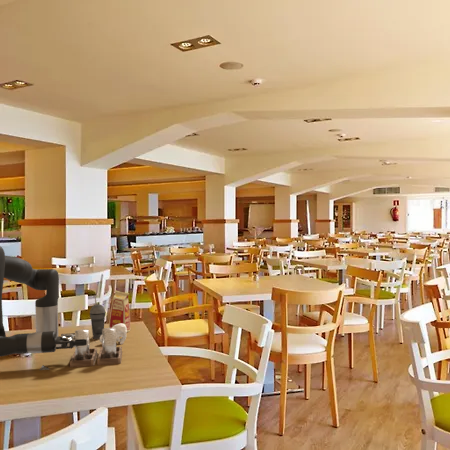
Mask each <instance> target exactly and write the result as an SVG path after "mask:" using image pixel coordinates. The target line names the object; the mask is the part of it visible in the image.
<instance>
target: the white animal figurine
mask: <svg viewBox="0 0 450 450" xmlns="http://www.w3.org/2000/svg"><path fill="white" fill-rule="evenodd" d="M112 328H116V342H119V345H123V344H124V343H125V342H126V339H127V334H128V332H127V327H126V326H125V324H123V323H120V324H116V325H115V326H114V327H112ZM120 337H121V338H120ZM99 342H100V343H101V344H102V335H101V336H100V339H99Z"/></svg>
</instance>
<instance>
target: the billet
mask: <svg viewBox="0 0 450 450" xmlns="http://www.w3.org/2000/svg"><path fill="white" fill-rule="evenodd" d="M101 344H102V347H101V348H102V351H103V359H104V358H116V347H117V341H116V328H109V327H104V329H102V343H101Z"/></svg>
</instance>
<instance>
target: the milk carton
mask: <svg viewBox="0 0 450 450" xmlns="http://www.w3.org/2000/svg"><path fill="white" fill-rule="evenodd" d="M114 291H115V293H114V295H113V298H112V304H111V307H110V314H109V315H110V316H109V321H108V323H109V324H108V328H112V327H114V326H115V325H116V324H120V323H123V324H125V326H126V327H127V333H129V332H130V331H131V312H130V303H129V295H130V293H129V292H122V291H119V290H114Z"/></svg>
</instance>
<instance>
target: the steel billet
mask: <svg viewBox="0 0 450 450" xmlns="http://www.w3.org/2000/svg"><path fill="white" fill-rule="evenodd" d="M74 333H75V340H77V339H86V340H87V344H86V345H85V346H76V347H74V349H75V350H74V352H75V355H76V360H90V351H89V349H90V330H89V329H88V328H83V329H82V328H81V329H76V330H75V331H74Z"/></svg>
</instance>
